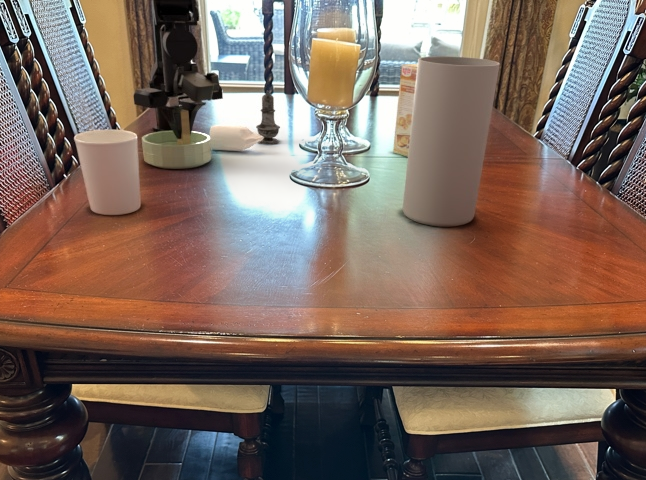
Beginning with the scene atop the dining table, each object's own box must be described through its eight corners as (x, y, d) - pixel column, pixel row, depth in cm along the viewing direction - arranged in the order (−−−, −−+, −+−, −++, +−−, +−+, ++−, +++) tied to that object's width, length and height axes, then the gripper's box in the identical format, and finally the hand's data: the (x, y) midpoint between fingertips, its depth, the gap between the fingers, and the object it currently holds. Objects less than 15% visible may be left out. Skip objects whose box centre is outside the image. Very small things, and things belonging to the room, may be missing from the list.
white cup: (156, 203, 108) (149, 133, 102) (123, 220, 100) (113, 145, 94) (109, 195, 110) (99, 127, 104) (73, 212, 102) (60, 138, 96)
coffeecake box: (413, 159, 141) (424, 67, 132) (391, 152, 146) (399, 64, 136) (454, 150, 150) (466, 64, 140) (431, 144, 155) (442, 60, 145)
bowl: (130, 160, 131) (127, 136, 129) (183, 150, 141) (181, 127, 138) (172, 174, 124) (170, 149, 121) (224, 161, 133) (223, 138, 131)
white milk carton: (260, 155, 139) (260, 130, 136) (209, 152, 140) (208, 127, 137) (266, 149, 144) (266, 125, 141) (216, 146, 145) (215, 121, 142)
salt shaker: (281, 139, 153) (281, 88, 147) (278, 145, 148) (277, 92, 142) (258, 138, 154) (257, 87, 148) (254, 143, 149) (253, 91, 143)
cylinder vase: (429, 232, 100) (451, 67, 87) (388, 209, 109) (402, 57, 97) (488, 222, 105) (517, 65, 92) (444, 201, 115) (464, 55, 102)
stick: (178, 154, 130) (174, 110, 125) (185, 153, 131) (182, 109, 127) (184, 156, 129) (180, 111, 124) (191, 154, 130) (188, 110, 126)
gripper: (164, 64, 110) (171, 152, 118) (239, 58, 122) (242, 137, 130) (127, 58, 116) (137, 142, 124) (203, 53, 128) (207, 129, 136)
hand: (183, 137), depth 128 cm, fingers closed on stick, 2 cm apart
